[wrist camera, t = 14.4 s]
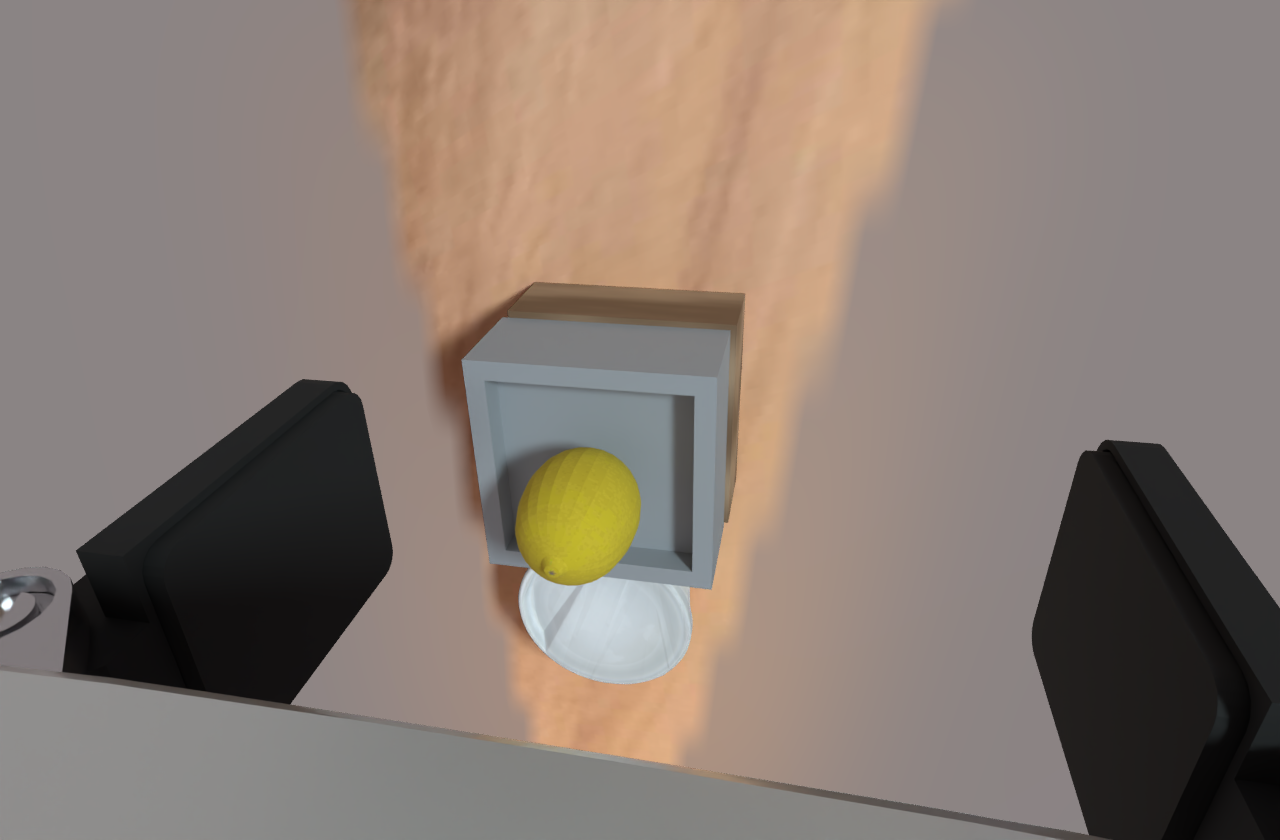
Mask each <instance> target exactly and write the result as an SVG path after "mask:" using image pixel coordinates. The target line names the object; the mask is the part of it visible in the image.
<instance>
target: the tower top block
mask: <svg viewBox="0 0 1280 840" xmlns="http://www.w3.org/2000/svg"><path fill="white" fill-rule="evenodd" d="M730 331H731V330H714V329H697V328H679V327H662V326H645V325H627V324H610V323H593V322H575V321H558V320H540V319H523V318H507V317H502V318H501V319H500V320H499V321H498V322H497V324H496V325H495V326H494V327H493V328H492V329H491V330H490V331H489V332H488V333H487V334H486V335H485V336H484V337H483V338H482V339H481V340H480V341H479V342H478V343H477V344H476V345H475V346H474V347H473V348H472V350H471V351H470V352H469V353H468V354H467V355H466V356H465V357H464V358H463V359H462V367H463V374H464V381H465V388H466V396H467V403H468V410H469V417H470V424H471V432H472V439H473V446H474V453H475V460H476V468H477V475H478V482H479V489H480V496H481V504H482V511H483V518H484V525H485V532H486V540H487V547H488V554H489V561H490V563H491V564H500V565H508V566H517V567H525V568H530V566H529V565H528V564H527V563H526V562H525V560H524V558H523V556H522V554H521V552H520V550H519V548H518V544H517V539H516V535H515V526H516V517H517V510H518V506H519V502H520V499H521V497H522V494H523V492H524V490H525V488H526V486H527V484H528V482H529V480H530V479H531V477H532V476H533V474H534V473H535V472H536V471H537V470H538V469H539V468H540V467H541V466H542V465H543V464H544V463H545V462H546V461H547V460H548V459H550V458H551V457H553V456H555V455H557V454H559V453H561V452H563V451H565V450H569V449H573V448H578V447H591V448H596V449H601V450H604V451H606V452H608V453H610V454H613V455H614V456H615V457H617V458H618V459H620V460H621V461H622V462H623V463H624V464H625V465H626V466H627V467H628V469H629V470H630V471H631V473H632V475H633V476H634V478H635V480H636V482H637V485H638V489H639V493H640V497H641V512H640V521H639V526H638V529H637V532H636V534H635V536H634V539H633V541H632V543H631V546H630V547H629V549H628V551H627V552H626V554H625V555H624V556H623V558H622V559H621V560H620V561H619V562H618V563H617V564H616V566H615V567H614V568H613V569H612V570H611V571H610V572H609V573H607V574H606V575H605V576H603V577H610V578H618V579H626V580H635V581H643V582H652V583H660V584H669V585H677V586H686V587H694V588H702V589H712V584H713V579H714V574H715V569H716V563H717V558H718V553H719V548H720V543H721V537H722V532H723V527H724V501H725V472H726V444H727V416H728V387H729V359H730Z"/></svg>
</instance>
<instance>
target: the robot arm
mask: <svg viewBox="0 0 1280 840" xmlns="http://www.w3.org/2000/svg"><path fill="white" fill-rule="evenodd" d="M76 552H77V554H78V557H79V559H80V561H81V563H82V566H83V568H84V570H85V572H86V575H85V576H84V577H82V578H81V579H80V580H79V581H78V582H76V583H75V584H74V585H73V583H72V581H71V578H70V577H69V576H68V575H66V574H65V573H64V572H62V571H61V570H57V569H53V568H48V567H32V568H31V567H30V568H21V569H16V570H11V571H5V572H1V573H0V840H1280V608H1279V606H1278V605H1277V604H1276V602H1275V601H1274V600H1273V598H1272V597H1271V595H1270V594H1269V593H1268V591H1267V590H1266V588H1265V587H1264V586H1263V584H1262V583H1261V581H1260V580H1259V579H1258V577H1257V576H1256V575H1255V573H1254V572H1253V571H1252V569H1251V568H1250V566H1249V565H1248V564H1247V562H1246V561H1245V559H1244V558H1243V557H1242V555H1241V554H1240V552H1239V551H1238V550H1237V548H1236V547H1235V545H1234V544H1233V543H1232V541H1231V540H1230V539H1229V537H1228V536H1227V534H1226V533H1225V532H1224V530H1223V529H1222V527H1221V526H1220V524H1219V523H1218V522H1217V520H1216V519H1215V518H1214V516H1213V515H1212V513H1211V512H1210V511H1209V509H1208V508H1207V506H1206V505H1205V504H1204V502H1203V501H1202V499H1201V498H1200V497H1199V495H1198V494H1197V492H1196V491H1195V490H1194V488H1193V487H1192V486H1191V484H1190V483H1189V481H1188V480H1187V479H1186V477H1185V476H1184V474H1183V473H1182V471H1181V470H1180V469H1179V467H1178V466H1177V464H1176V463H1175V462H1174V460H1173V459H1172V458H1171V456H1170V455H1169V453H1168V452H1167V451H1166V449H1165V448H1164V447H1163V446H1162V445H1161V444H1153V443H1140V442H1127V441H1113V440H1105V441H1104V442H1102V443H1101V445H1100V446H1099V447H1098V449H1097V451H1085V452H1083V453H1082V455H1081V456H1080V459H1079V461H1078V464H1077V468H1076V471H1075V475H1074V479H1073V482H1072V486H1071V490H1070V493H1069V497H1068V500H1067V504H1066V507H1065V511H1064V514H1063V518H1062V521H1061V525H1060V529H1059V532H1058V536H1057V539H1056V543H1055V546H1054V550H1053V554H1052V557H1051V561H1050V564H1049V568H1048V572H1047V575H1046V579H1045V582H1044V586H1043V590H1042V593H1041V596H1040V600H1039V604H1038V607H1037V611H1036V614H1035V618H1034V622H1033V627H1032V646H1033V652H1034V656H1035V659H1036V662H1037V666H1038V669H1039V672H1040V676H1041V679H1042V682H1043V685H1044V689H1045V692H1046V695H1047V698H1048V702H1049V705H1050V708H1051V711H1052V715H1053V718H1054V721H1055V725H1056V728H1057V731H1058V734H1059V738H1060V741H1061V744H1062V748H1063V751H1064V754H1065V758H1066V761H1067V764H1068V767H1069V771H1070V774H1071V777H1072V781H1073V784H1074V787H1075V790H1076V793H1077V797H1078V800H1079V804H1080V807H1081V810H1082V813H1083V817H1084V820H1085V823H1086V827H1087V830H1088V833H1089V835H1085V834H1080V833H1075V832H1070V831H1065V830H1059V829H1053V828H1047V827H1041V826H1035V825H1029V824H1023V823H1017V822H1010V821H1004V820H998V819H993V818H987V817H981V816H976V815H971V814H965V813H959V812H954V811H948V810H943V809H937V808H930V807H925V806H919V805H913V804H907V803H901V802H894V801H888V800H883V799H877V798H870V797H864V796H858V795H852V794H846V793H840V792H834V791H828V790H822V789H816V788H809V787H804V786H797V785H792V784H786V783H780V782H774V781H768V780H762V779H755V778H749V777H743V776H737V775H731V774H725V773H719V772H713V771H707V770H701V769H695V768H689V767H683V766H677V765H670V764H664V763H658V762H652V761H645V760H639V759H633V758H627V757H620V756H614V755H608V754H602V753H596V752H589V751H583V750H577V749H571V748H564V747H558V746H552V745H546V744H539V743H533V742H527V741H520V740H514V739H508V738H502V737H495V736H489V735H483V734H476V733H470V732H464V731H457V730H451V729H445V728H438V727H431V726H426V725H419V724H412V723H407V722H400V721H393V720H387V719H380V718H374V717H368V716H361V715H355V714H348V713H342V712H335V711H328V710H322V709H315V708H309V707H302V706H296V705H290V704H291V702H292V701H293V700H294V698H295V697H296V695H297V694H298V693H299V692H300V690H301V689H302V688H303V686H304V685H305V683H306V682H307V681H308V679H309V678H310V677H311V675H312V674H313V673H314V671H315V670H316V669H317V667H318V666H319V665H320V663H321V662H322V660H323V659H324V658H325V656H326V655H327V654H328V652H329V651H330V650H331V648H332V647H333V646H334V644H335V643H336V642H337V640H338V639H339V638H340V636H341V635H342V633H343V632H344V631H345V629H346V628H347V627H348V625H349V624H350V623H351V621H352V620H353V618H354V617H355V616H356V615H357V613H358V612H359V610H360V609H361V608H362V606H363V605H364V604H365V602H366V601H367V599H368V598H369V597H370V596H371V594H372V593H373V592H374V590H375V589H376V588H377V586H378V585H379V583H380V582H381V581H382V579H383V578H384V577H385V575H386V574H387V572H388V570H389V568H390V565H391V562H392V555H393V550H392V543H391V538H390V533H389V528H388V524H387V519H386V514H385V509H384V505H383V500H382V495H381V490H380V485H379V481H378V476H377V472H376V467H375V462H374V457H373V452H372V447H371V443H370V438H369V433H368V428H367V423H366V419H365V414H364V409H363V405H362V402H361V399H360V398H359V397H358V395H357V394H355V393H352V392H351V390H350V389H349V387H348V386H347V385H346V384H344V383H343V382H333V381H320V380H305V379H302V380H300V381H298V382H297V383H295V384H294V385H293V386H291V387H290V388H289V389H287V390H286V391H285V392H283V393H282V394H281V395H279V396H278V397H277V398H276V399H274V400H273V401H272V402H270V403H269V404H268V405H266V406H265V407H264V408H262V409H261V410H260V411H258V412H257V413H256V414H255V415H253V416H252V417H251V418H249V419H248V420H247V421H245V422H244V423H243V424H241V425H240V426H239V427H238V428H236V429H235V430H234V431H232V432H231V433H230V434H229V435H227V436H226V437H224V438H223V439H222V440H221V441H219V442H218V443H216V444H215V445H214V446H213V447H211V448H210V449H209V450H208V451H206V452H205V453H204V454H202V455H201V456H200V457H198V458H197V459H196V460H194V461H193V462H192V463H190V464H189V465H188V466H186V467H185V468H184V469H182V470H181V471H180V472H178V473H177V474H176V475H175V476H173V477H172V478H171V479H169V480H168V481H167V482H165V483H164V484H163V485H162V486H160V487H159V488H157V489H156V490H155V491H154V492H152V493H151V494H150V495H148V496H147V497H146V498H145V499H143V500H142V501H140V502H139V503H138V504H136V505H135V506H134V507H133V508H131V509H130V510H129V511H127V512H126V513H125V514H123V515H122V516H121V517H119V518H118V519H117V520H115V521H114V522H113V523H112V524H110V525H109V526H108V527H107V528H105V529H104V530H102V531H101V532H100V533H98V534H97V535H96V536H95V537H93V538H92V539H91V540H89V541H88V542H87V543H85V544H84V545H83V546H81V547H80V548H79V549H77V550H76Z"/></svg>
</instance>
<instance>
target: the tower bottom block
mask: <svg viewBox="0 0 1280 840" xmlns="http://www.w3.org/2000/svg"><path fill="white" fill-rule="evenodd" d="M744 310H745V294H744V293H726V292H708V291H689V290H671V289H653V288H634V287H616V286H598V285H579V284H561V283H543V282H535V283H534V284H533V285H532V286H531V287H530V288H529V289H528V290H527V291H526V292H525V293H524V294H523V295H522V296H521V297H520V298H519V299H518V300H517V301H516V302H515V303H514V304H513V306H512V307H511V308H510V309H509V310H508V311H507V312H508V318H523V319H540V320H558V321H575V322H593V323H610V324H627V325H645V326H662V327H679V328H697V329H714V330H731V331H730V359H729V387H728V416H727V444H726V472H725V501H724V522H726V523H728V519H729V514H730V508H731V503H732V498H733V492H734V487H735V482H736V469H737V449H738V429H739V409H740V390H741V370H742V350H743V330H744Z"/></svg>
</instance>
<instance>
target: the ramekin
mask: <svg viewBox="0 0 1280 840" xmlns="http://www.w3.org/2000/svg"><path fill="white" fill-rule="evenodd" d="M518 601H519V610H520V614H521V618H522V621H523V623H524V625H525V628H526V630H527V632H528V633H529V635H530V637H531V638H532V639H533V641H534V642H535V643H536V644H537V646H538V647H539V648H540V649H541V650H542V651H543V652H544V653H545V654H546V655H547V656H548V657H550V658H551V659H552V660H554V661H555V662H556V663H558V664H559V665H561V666H562V667H564V668H566V669H567V670H569V671H571V672H573V673H575V674H578V675H580V676H583V677H586V678H589V679H592V680H595V681H600V682H605V683H613V684H634V683H641V682H645V681H649V680H652V679H655V678H658V677H660V676H663V675H664V674H666V673H667V672H668V671H670V670H671V669H673V668H674V667H675V666H676V665H677V664H678V663H679V661H680V660H681V659H682V658H683V657H684V655H685V653H686V651H687V649H688V646H689V642H690V639H691V633H692V613H691V608H690V587H686V586H677V585H669V584H660V583H652V582H643V581H635V580H626V579H618V578H610V577H601V578H599V579H597V580H596V581H593V582H591V583H587V584H583V585H576V586H567V585H561V584H556V583H553V582H550V581H548V580H546V579H544V578H543V577H541V576H539V575H538V574H537V573H536V572H535V571H533V570H532V569H531V568H528V570H527V571H526V573H525V575H524V577H523V580H522V582H521V585H520V589H519V596H518Z"/></svg>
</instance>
